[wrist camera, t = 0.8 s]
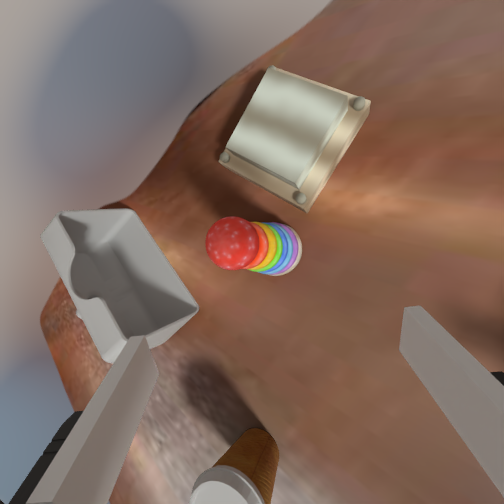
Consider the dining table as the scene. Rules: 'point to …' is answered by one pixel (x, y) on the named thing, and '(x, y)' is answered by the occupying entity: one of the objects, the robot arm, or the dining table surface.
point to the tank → (117, 278)
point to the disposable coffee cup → (241, 472)
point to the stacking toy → (253, 246)
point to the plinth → (293, 136)
